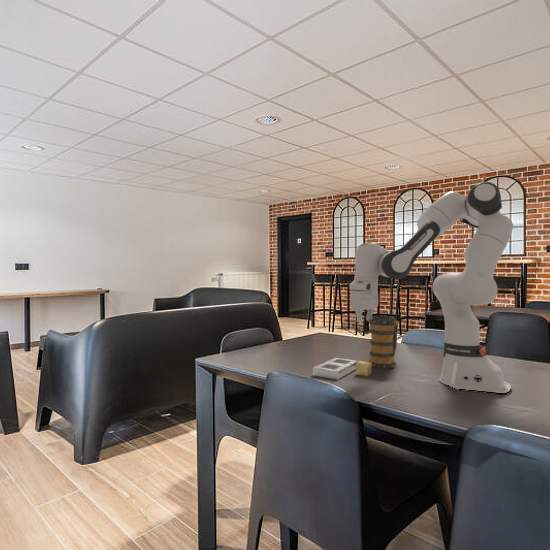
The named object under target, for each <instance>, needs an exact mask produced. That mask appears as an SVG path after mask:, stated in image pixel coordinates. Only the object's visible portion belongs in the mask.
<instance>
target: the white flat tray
mask: <svg viewBox="0 0 550 550" xmlns="http://www.w3.org/2000/svg"><path fill="white" fill-rule="evenodd" d="M357 362H359V360H354V359H348V358H342V357H341V358H339V357H333V358H331V359H329V360H327V361H324V362H323V363H321V364H318V365H316V366H313V367H312V376H313V377H319V378H320V377H321V378H326V379H331V380H337V381H338V380H339V379H342V378H344V377H345V376H347V375H349V374H350V373H352V372H354V371H356V363H357Z"/></svg>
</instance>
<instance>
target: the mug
mask: <svg viewBox="0 0 550 550" xmlns="http://www.w3.org/2000/svg"><path fill="white" fill-rule="evenodd" d="M366 321H367V322H369V324H370V329H369V333H371V334H370V335H371V336H370V337H371V339H370V340H369V342H370V348H371V349H370V351H369V355H370V357H369V359H368V362H372V368H375V369H382V370H387V369H389V370H390V369H394V368H395V367H396V365H397V364H398V363H396V361H395V360H394V357H395V354H396V350H397V342H398V336H397V334H398V333H397V332H398V331H397V326H398V325H399V323H398V320H397V318H396V317H393V316H389V315H388V316H387V315H372V320H366Z"/></svg>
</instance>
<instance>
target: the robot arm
mask: <svg viewBox="0 0 550 550" xmlns="http://www.w3.org/2000/svg"><path fill="white" fill-rule="evenodd" d="M502 205H503V204H502V195H501V192H500V189H499V187H498V185H496V184H495V183H493V182H491V181H481V182H478V183H476V184H475V185H473V186H472V187H471V188H470V189H469V191H468V193H467V196H464V195H461V193H458V192H456V191H449V192H446V193H445V194H443V195H441V196H440V197H439V198H437V199H436V200H435V201H434V202H432V203H431V204H430V205H429V206H428V207H427V208H426V209H425V210H424V211H423V212H422V214H420V216H419V218H418V219H417V221H416V225H417V226H416V227H417V230H416V232H415V233H414V234H413V235H412V236H411V237H410V238H409V240H407V241H406V242H405V244H404V245H403V246H402V247H400V248H399V249H396V250H392V251H391V250H388V249H386V248H384V247H382V246H381V245H379V243H377V242H375V241H374V242H366V243H362V244H360V245H358V246H357V248H356V252H355V259H354V267H355V273H354V277H353V281H351V282H350V283H349V290H350V294H349V306H350V310H351V311H355V316H356V322H357V323H363V322H364V321H363V319H364V318H363V311H367V312H366V313H367V314H366V315H365V320H366V321H367V320H372V316H373V314H374V309H377V308H378V306H379V291H378V289H379V288H378V287H379V284H378V283H379V276H383V277H385V278H390V279H393V280H400V279H404V278H405V277H406V276H408V275H409V273H411V270H412V267H413V265H414V264H415V262H416V260H417V258H419V256H420V255H421V254H422V253H423V252H424V251H425V250H426V249H427V248H428V247H429V245H431V244H432V243H433V242H434V241H436V239H437V238H439V237H441V236H442V235H443V234H444V233H445V232H447V231H448V230H449V229H450V228H451V227H452V226H453V225H454V224H455V223H456V222H457V221H460V222H461V223H463V224H466V225H468V226H469V227H471V228H474V229H476V231H475V232H474V234H473V235H472V238H471V240H470V242H469V243H468V245H467V247H466V248H465V251H464V252H463V258H464V261H465V262H466V263H465V267H464V269H463V271H462V272H447V273H443V274H440V275H438V276H436V278H435V279H434V280H433V283H432V292H433V294H434V296H435V297H436V298H437V299H438V301H439V303H440V307H441V310H442V314H443V317H444V318H443V320H444V342H443V346H442V347H443V348H442V355H443V356H442V357H443V365H442V369H441V374H440V377H439V382H440V383H442V384H444V385H446V386H448V385H449V386H448V387H451V388H452V387H453V388H452V389H454V388H455V389H454V390H459V389H466V390H465V391H468V390H477V391H489V392H508V391H509V390H510V389H511V390H512V386H511V384H510V383H509V382H507V381H505V378H504V372H503V371H502V368H501V367H500V366H499V365H497V364H495V362H493V361H492V360H491V359H489V358H488V356H486V354H487V350H486V349H487V348H486V346H484V345H481V344H480V321H479V319H478V318H477V317H476V316H475V315H474V313H473V311H472V307H471V306H475V307H477V306H478V307H479V306H484V305H485V306H486V305H489V304H492V302H493V301H494V300H495V299H496V297H497V295H498V285H497V282H496V280H495V278H494V274H495V273H494V272H495V270H496V269H495V268H496V267H497V264H498V262H499V260H500V258H501V256H502V254H503V253H504V250H505V249H506V247H507V245H508V243H509V240H510V238H511V235H512V232H513V229H514V223H513V221H512V220H511V218H510V217H508V216H507V215H505V214H502V213H501V212H500V211H501V210H502V208H503V206H502ZM477 391H476V392H477Z"/></svg>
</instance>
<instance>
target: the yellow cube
mask: <svg viewBox="0 0 550 550" xmlns="http://www.w3.org/2000/svg"><path fill="white" fill-rule="evenodd" d="M372 368H373V367H372V362H369V361H365V360H358V362H357V363H356V370H355V375H356V376H357V375H358V376H362V377H369V376H370V375H371V374H372Z"/></svg>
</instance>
